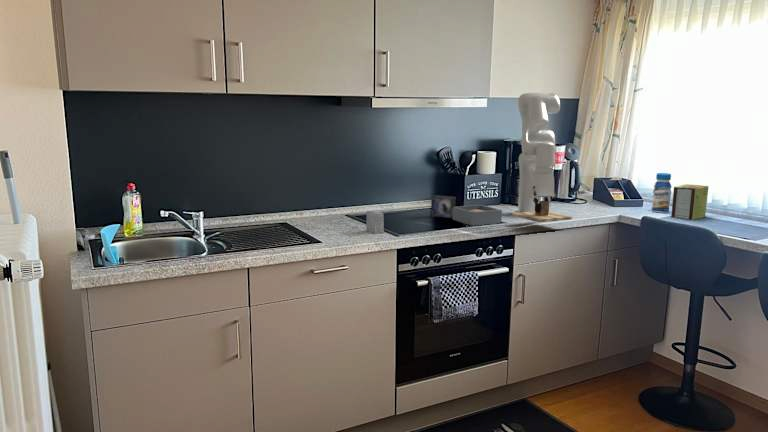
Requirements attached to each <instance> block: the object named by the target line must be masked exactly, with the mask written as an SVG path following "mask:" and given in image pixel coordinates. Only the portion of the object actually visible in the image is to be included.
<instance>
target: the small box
mask: <svg viewBox="0 0 768 432" xmlns="http://www.w3.org/2000/svg"><path fill="white" fill-rule="evenodd" d="M456 198H457V197H456V196H450V195H449V196H448V195H440V194H439V195H438V194H436V195H434V196H431V202H430V203H431V205H430V207H431V210H430V213H431V215H430V217H431V218H438V217H440V218H448V219H451V218H452V219H453V207H456Z"/></svg>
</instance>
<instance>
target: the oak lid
mask: <svg viewBox="0 0 768 432" xmlns="http://www.w3.org/2000/svg"><path fill="white" fill-rule="evenodd" d="M540 204H541V212H540V213H538V212H535V211H532V212H520V213H515V212H512V216H513V217H516V218H519V219H525V220H528V221H533V222H535V223H548V222H549V223H550V222H559V221H567V220H572V218H573V217H572V216H570V215H565V214H561V213H556V212H551V211H550V203H549V202H547V201H544V200H541V201H540ZM548 211H549V212H548Z"/></svg>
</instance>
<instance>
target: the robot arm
mask: <svg viewBox="0 0 768 432" xmlns="http://www.w3.org/2000/svg"><path fill="white" fill-rule="evenodd" d="M517 103H518V104H517V105H518V111H519V115H520V118H521V122H522V123H521V125H522V126H521V127H522V128H521V139H520V141H521V143H520V144H521V153H520V154H519V156H518V169H519V182H518V183H519V184H518V186H519V188H518V200H517V201H518V203H517V204H518V206H517V209H516V210H515V211H514V213H520V212H532V211H535V212H538V213H540V212H541V204H540V201H542V198H543V201H547V202H549V204H551V201H552V200H553V199H554V198H555V197H556V192H555V176H554V171H555V167H556V166H555V165H556V135H555V132H554V131H553V130H551V129H546V128H548V127H549V123H550V121H549V114H550V115H551V114H552V115H553V114H554V115H555V114H558V113H559V112H560V110H561V100H560V97H559V96H558V95H556V93H554V92H553V93H552V92H527V93H526V92H525V93H522V94H520V95H519V96H518V102H517ZM548 212H550V210H549V211H548Z"/></svg>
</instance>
